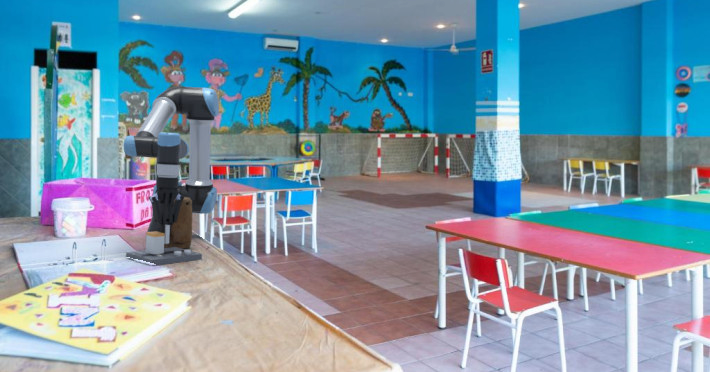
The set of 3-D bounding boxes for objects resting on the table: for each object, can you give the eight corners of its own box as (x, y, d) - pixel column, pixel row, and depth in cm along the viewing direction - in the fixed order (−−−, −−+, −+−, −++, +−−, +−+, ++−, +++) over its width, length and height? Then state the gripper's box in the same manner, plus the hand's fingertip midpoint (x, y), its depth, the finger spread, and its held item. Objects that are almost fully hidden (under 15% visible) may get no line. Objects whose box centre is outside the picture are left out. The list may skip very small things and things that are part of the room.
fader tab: (155, 250, 208) (156, 231, 207) (163, 253, 205) (164, 233, 204) (145, 252, 205) (146, 232, 204) (153, 254, 202) (154, 234, 201)
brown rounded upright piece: (187, 245, 235) (189, 196, 234) (192, 249, 229) (194, 198, 227) (159, 246, 229) (161, 196, 228) (164, 250, 223) (166, 198, 222)
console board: (175, 252, 221) (175, 242, 221) (201, 259, 211) (201, 249, 211) (125, 258, 205) (125, 247, 205) (151, 266, 195) (151, 255, 195)
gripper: (177, 175, 213) (174, 239, 215) (145, 175, 203) (142, 243, 205) (189, 177, 209) (187, 242, 210) (157, 177, 199) (154, 246, 200)
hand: (165, 242), depth 208 cm, fingers closed
